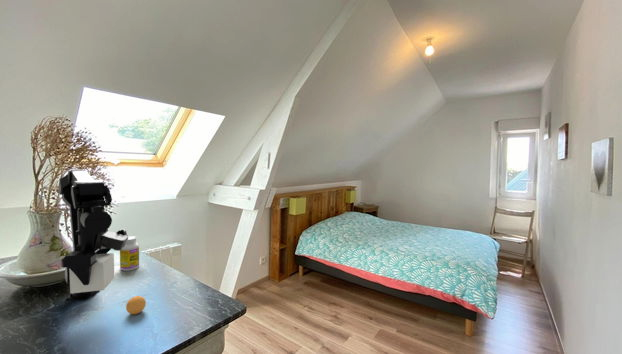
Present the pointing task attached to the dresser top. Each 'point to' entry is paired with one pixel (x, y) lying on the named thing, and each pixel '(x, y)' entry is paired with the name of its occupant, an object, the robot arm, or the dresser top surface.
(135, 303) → the ball
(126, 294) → the dresser top surface
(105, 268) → the white cube
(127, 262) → the supplement bottle
